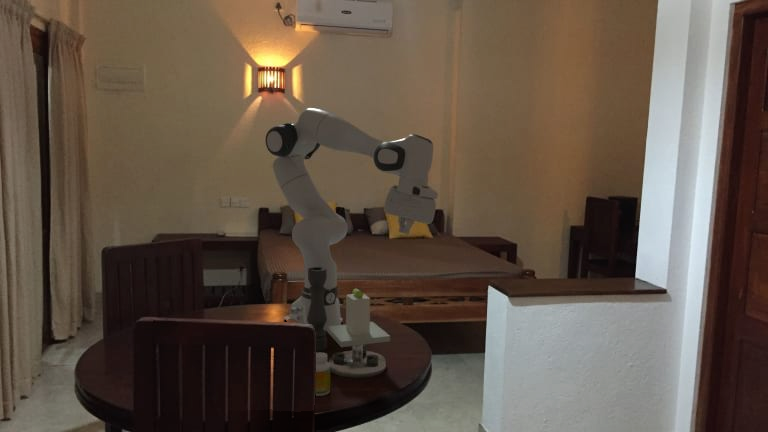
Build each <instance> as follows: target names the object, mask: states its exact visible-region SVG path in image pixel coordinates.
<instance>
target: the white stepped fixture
mask: <svg viewBox="0 0 768 432" xmlns="http://www.w3.org/2000/svg"><path fill="white" fill-rule="evenodd" d="M345 298H346V299H345V324H341V325H336V326H327V331H326V333H328V334H329V336H330V337H331V338H332V339H333V340H334V341H335V342H336V343H337V344H338V345H339V347H340V348H344V347H345V348H346V347H352V346H355V345H363V344H366V345H370V344H377V343H378V344H379V343H386V342H391V335H389V334H388V333H387V332H386V331H385V330H383V329H382V328H381V327H380V326H379V325H377V324H376V323H375V322H373V321H371V317H370V316H371V298H370V297H369V296H368V295H366V294H365V293H364V292H363V291H361V290H360V289H359V288H354V289H353V290H352V293H351V294H345Z"/></svg>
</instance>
